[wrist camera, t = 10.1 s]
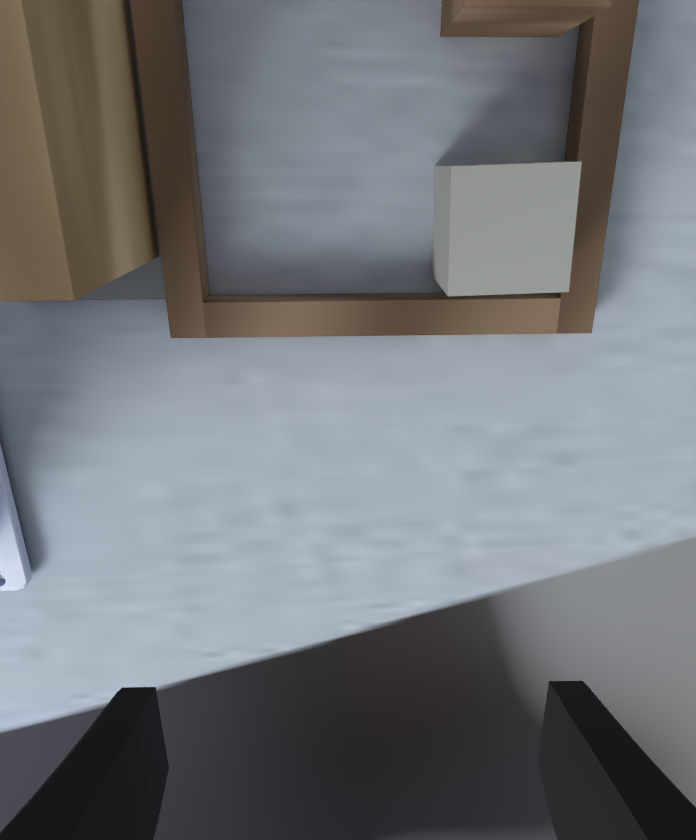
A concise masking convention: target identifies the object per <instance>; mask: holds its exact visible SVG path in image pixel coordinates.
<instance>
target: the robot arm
mask: <svg viewBox="0 0 696 840" xmlns="http://www.w3.org/2000/svg"><path fill="white" fill-rule="evenodd" d="M0 574H1V575H2V576H4V578H5V579H1V578H0V591H18V590H22V589H24V588H25V587H26V586H27V585H28V583H29V582H30V580H31V578H32V572H31V568H30V564H29V560H28V556H27V552H26V548H25V543H24V539H23V535H22V531H21V527H20V523H19V519H18V515H17V510H16V506H15V502H14V498H13V494H12V490H11V486H10V482H9V477H8V473H7V469H6V465H5V461H4V457H3V453H2V449H1V444H0ZM537 763H538V767H539V771H540V775H541V780H542V784H543V789H544V793H545V797H546V801H547V805H548V809H549V813H550V816H551V821H552V824H553V827H554V830H555V833H556V836H557V839H558V840H696V807H695V806H694V805H693V804H692V803H691V802H690V801H689V800H688V799H687V798H686V797H685V796H684V795H683V794H682V793H681V792H680V790H679V789H678V788H677V787H676V786H675V785H674V784H673V783H672V782H671V781H670V780H669V779H668V777H667V776H666V775H665V774H664V773H663V772H662V771H661V770H660V769H659V768H658V767H657V766H656V765H655V764H654V762H653V761H652V760H651V759H650V758H649V757H648V756H647V755H646V753H645V752H644V751H643V750H642V749H641V748H640V747H639V746H638V744H637V743H636V742H635V741H634V740H633V739H632V738H631V736H630V735H629V734H628V733H627V732H626V731H625V730H624V728H623V727H622V726H621V725H620V724H619V722H618V721H617V720H616V719H615V718H614V717H613V716H612V714H611V713H610V712H609V711H608V710H607V708H606V707H605V706H604V705H603V704H602V703H601V701H600V700H599V699H598V698H597V697H596V695H594V693H593V692H592V691H591V689H590V688H589V687H588V686H587V685H586V684H585V683H584V682H583V681H549V686H548V693H547V699H546V706H545V713H544V721H543V727H542V733H541V741H540V747H539V754H538V761H537ZM168 769H169V766H168V760H167V754H166V748H165V742H164V736H163V730H162V724H161V718H160V712H159V706H158V700H157V694H156V688H155V687H136V688H121V689H120V690H119V691H118V692H117V693H116V694H115V696H114V697H113V698H112V699H111V701H110V702H109V703H108V705H107V706H106V707H105V708H104V710H103V711H102V712H101V714H100V715H99V716H98V717H97V719H96V720H95V721H94V723H93V724H92V725H91V727H90V728H89V729H88V730H87V732H86V733H85V734H84V735H83V736H82V738H81V739H80V740H79V741H78V743H77V744H76V745H75V747H74V748H73V749H72V750H71V751H70V753H69V754H68V755H67V756H66V757H65V759H64V760H63V761H62V762H61V764H60V765H59V766H58V767H57V768H56V769H55V771H54V772H53V773H52V774H51V776H50V777H49V778H48V779H47V780H46V781H45V782H44V784H43V785H42V786H41V787H40V788H39V790H38V791H37V792H36V793H35V794H34V795H33V797H32V798H31V799H30V800H29V801H28V802H27V804H26V805H25V806H24V807H23V808H22V809H21V810H20V811H19V812H18V814H16V816H15V817H14V818H13V819H12V820H11V821H10V822H9V823H8V824H7V825H6V827H5V828H4V829H3V830H2V831H1V832H0V840H153V838H154V835H155V831H156V827H157V823H158V818H159V814H160V809H161V804H162V799H163V794H164V789H165V784H166V779H167V774H168Z"/></svg>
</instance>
